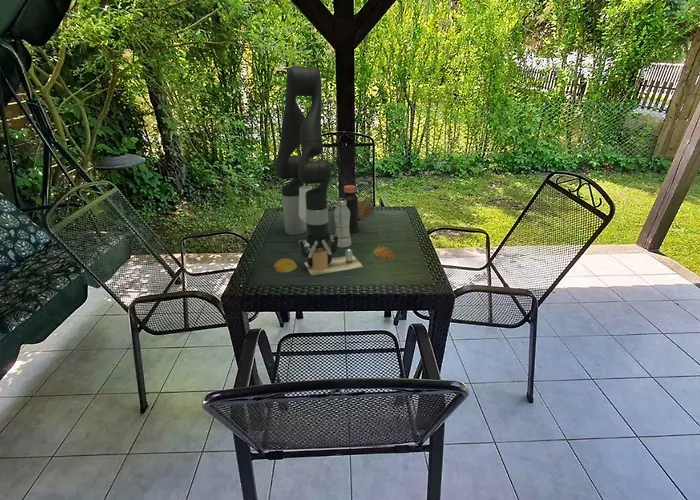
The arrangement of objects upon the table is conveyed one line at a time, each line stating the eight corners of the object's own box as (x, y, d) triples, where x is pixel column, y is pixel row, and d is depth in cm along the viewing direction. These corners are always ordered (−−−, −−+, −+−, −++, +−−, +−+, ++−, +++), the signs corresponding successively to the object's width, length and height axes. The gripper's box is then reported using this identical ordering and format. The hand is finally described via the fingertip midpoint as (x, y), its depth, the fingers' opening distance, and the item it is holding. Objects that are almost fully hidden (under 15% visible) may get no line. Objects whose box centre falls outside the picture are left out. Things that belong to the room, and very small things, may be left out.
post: (344, 261, 155) (344, 248, 153) (351, 260, 156) (350, 247, 154) (347, 263, 153) (346, 250, 151) (353, 262, 154) (353, 249, 152)
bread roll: (277, 278, 148) (276, 268, 146) (272, 267, 156) (271, 257, 154) (300, 274, 150) (299, 264, 149) (294, 264, 158) (293, 254, 157)
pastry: (400, 260, 159) (400, 251, 157) (386, 265, 156) (386, 256, 154) (384, 252, 166) (384, 243, 165) (370, 257, 163) (370, 248, 161)
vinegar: (361, 231, 187) (360, 186, 179) (348, 234, 184) (347, 189, 176) (352, 226, 192) (351, 183, 184) (339, 230, 189) (338, 186, 181)
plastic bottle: (349, 251, 167) (348, 202, 159) (332, 250, 168) (331, 201, 160) (352, 245, 173) (352, 197, 165) (336, 244, 174) (335, 197, 166)
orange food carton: (357, 221, 199) (357, 204, 195) (352, 220, 200) (351, 203, 197) (374, 212, 210) (374, 196, 207) (368, 211, 212) (368, 195, 209)
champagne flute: (297, 246, 173) (293, 188, 163) (306, 240, 178) (303, 184, 169) (311, 249, 170) (308, 190, 160) (320, 243, 175) (317, 186, 166)
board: (304, 266, 156) (303, 262, 155) (353, 258, 161) (353, 254, 161) (311, 279, 146) (311, 275, 146) (363, 270, 152) (363, 266, 151)
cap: (309, 264, 153) (308, 248, 151) (325, 262, 155) (324, 245, 152) (313, 271, 148) (312, 254, 146) (330, 268, 150) (329, 252, 147)
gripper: (334, 214, 150) (335, 257, 157) (294, 219, 146) (297, 263, 152) (340, 221, 143) (342, 266, 150) (298, 226, 139) (302, 272, 146)
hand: (319, 264), depth 151 cm, fingers closed on cap, 5 cm apart
